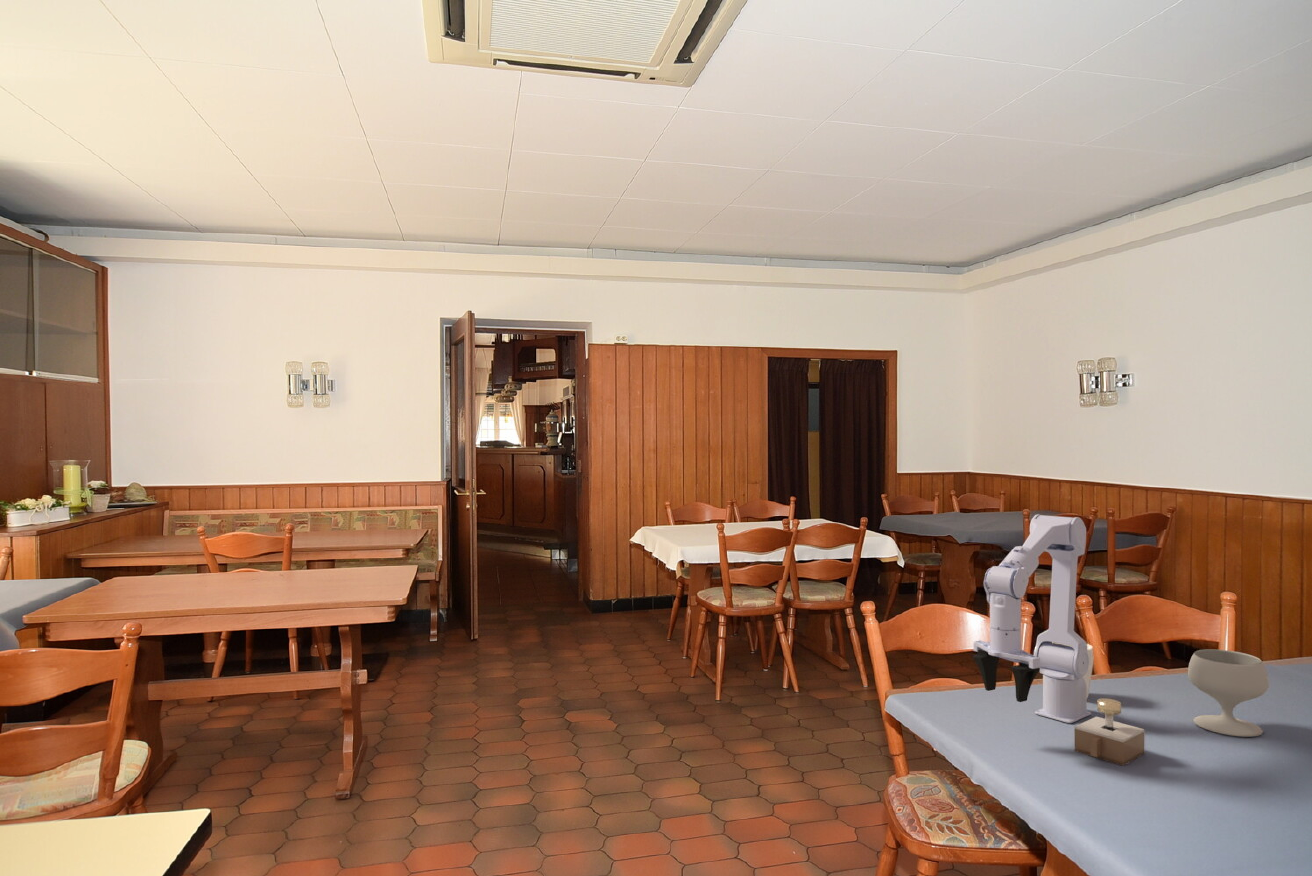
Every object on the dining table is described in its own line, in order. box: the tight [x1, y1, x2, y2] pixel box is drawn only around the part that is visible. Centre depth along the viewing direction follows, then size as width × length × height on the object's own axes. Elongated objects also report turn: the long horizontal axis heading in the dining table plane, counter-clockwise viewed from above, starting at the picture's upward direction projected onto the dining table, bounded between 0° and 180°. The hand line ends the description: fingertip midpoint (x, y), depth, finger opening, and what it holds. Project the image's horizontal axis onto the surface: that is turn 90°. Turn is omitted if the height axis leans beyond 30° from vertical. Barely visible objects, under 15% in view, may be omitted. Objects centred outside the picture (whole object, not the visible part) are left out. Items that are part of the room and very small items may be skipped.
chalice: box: [1187, 648, 1270, 738], centre depth 172 cm, size 14×14×15 cm
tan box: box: [1074, 716, 1145, 766], centre depth 159 cm, size 11×9×5 cm
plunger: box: [1097, 697, 1122, 731], centre depth 160 cm, size 4×4×6 cm
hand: (1005, 695), depth 163 cm, fingers open, 7 cm apart
